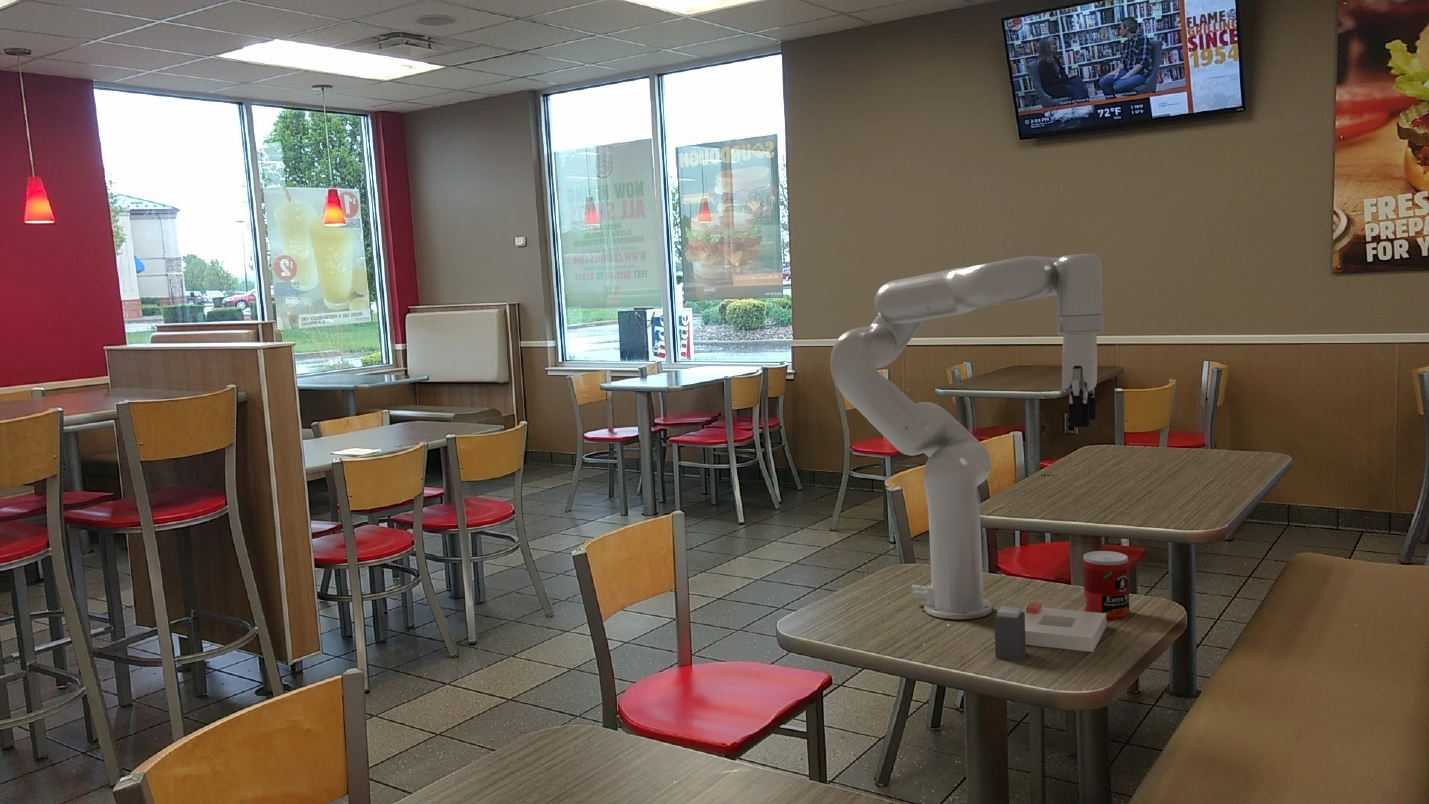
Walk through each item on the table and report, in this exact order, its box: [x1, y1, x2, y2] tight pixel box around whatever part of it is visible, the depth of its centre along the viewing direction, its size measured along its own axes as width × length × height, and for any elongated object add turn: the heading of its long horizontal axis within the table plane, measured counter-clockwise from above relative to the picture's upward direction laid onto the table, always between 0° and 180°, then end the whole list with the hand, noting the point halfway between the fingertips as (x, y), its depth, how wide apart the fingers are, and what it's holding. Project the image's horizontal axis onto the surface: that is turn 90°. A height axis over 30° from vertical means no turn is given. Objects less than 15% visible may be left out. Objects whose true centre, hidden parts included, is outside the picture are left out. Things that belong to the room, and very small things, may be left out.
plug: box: [993, 605, 1027, 662], centre depth 172 cm, size 4×4×8 cm
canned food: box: [1082, 550, 1130, 622], centre depth 189 cm, size 8×8×11 cm
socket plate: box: [1021, 602, 1107, 653], centre depth 181 cm, size 14×14×3 cm
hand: (1082, 423), depth 182 cm, fingers open, 9 cm apart
